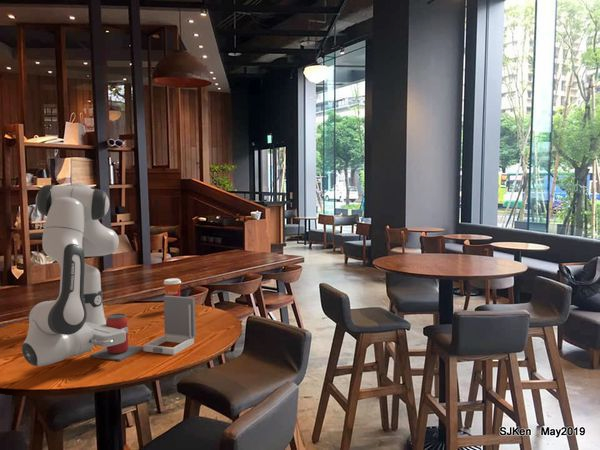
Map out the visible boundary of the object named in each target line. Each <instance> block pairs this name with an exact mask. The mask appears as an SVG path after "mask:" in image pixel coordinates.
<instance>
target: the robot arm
mask: <svg viewBox="0 0 600 450" xmlns="http://www.w3.org/2000/svg"><path fill="white" fill-rule="evenodd" d="M35 204H36V208H37V211H38V212H39V213H40V214H41V215H42V216H45V217H46V219H45V222H44V226H43V231H42V238H41V239H42V241H41V244H42V250H43V252H44V253H45V254H46V255H47V256H48V258H50V259H51V260H54V261H56V263H58V265H59V268H60V278H59V280H60V281H59V295H58V297H57V298H56V300H54V299H53V300H46V301H41V302H38V303H36V304H35V305H34V306H33V307H32V308H31V310H30V312H29V314H28V330H27V331H28V332H27V334H26V338H25V340H24V341H23V343H22V345H21V351H22V352H21V353H22V356H23V357H24V359H25V361H26V362H27V363H28V364H30V365H32V366H34V367H44V366H49V365H52V364H55V363H59V362H62V361H63V360H66V359H68V358H70V357H71V358H72V357H74V358H75V357H77V356H79V355H84V354H86V353H89V352H91V351H92V350H93V349H94V346H98V347H101V348H107V347H109V346H113V345H117V344H120V343H123V342H125V341H126V333H128V334H129V332H130V331H129V330H130V329H129V327H128V326H127V327H122V328H121V329H116V328H111V327H107V326H106V321H107V317H106V316H105V311H104V306H103V290H102V284H101V283H102V282H101V281H102V280H101V272H100V269H98V268H97V267H95V266H93V265H90V264H87V263H86V261H85V258H86V257H87V258H88V257H103V256H107V255H111V254H114V253H115V252H116V251H117V250H118V248H119V243H120V240H119V235H118V234H117V233H116V232H115V230H113V229H112V228H108V227H107V226H105V225H103V224H102V223H101V222H100V220H102V219H104V218H105V217H106V215H107V214H108V211H110V210H109V209H110V198H109V197H108V194H107V193H106V191H104V190H101V189H98V188H95V189H94V188H91V186H89V185H88V184H86V183H82V182H76V183H72V184H70V185H55V184H46V185H42V186H41V187H40V188H39V189H38V192H37V194H36V197H35Z"/></svg>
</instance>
